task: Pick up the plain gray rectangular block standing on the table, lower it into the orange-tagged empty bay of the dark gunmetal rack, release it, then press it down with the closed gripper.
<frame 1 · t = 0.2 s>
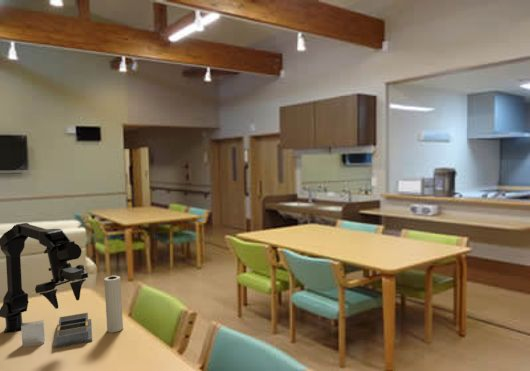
hand: (67, 304, 150), 15 cm above the table, fingers open, 9 cm apart
rack: (73, 333, 160), on the table
plain gray rectangular block: (33, 343, 153), on the table
paper towel roll: (116, 329, 164), on the table
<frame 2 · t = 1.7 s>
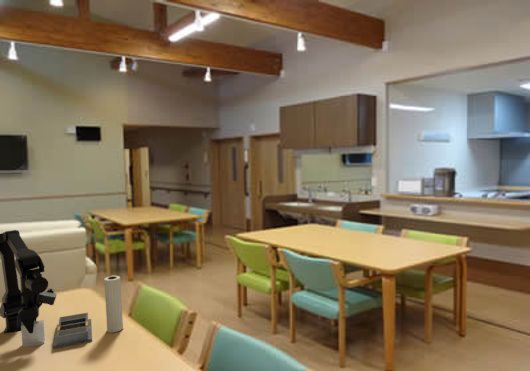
hand: (32, 328, 152), 6 cm above the table, fingers open, 9 cm apart
nothing on the table moved.
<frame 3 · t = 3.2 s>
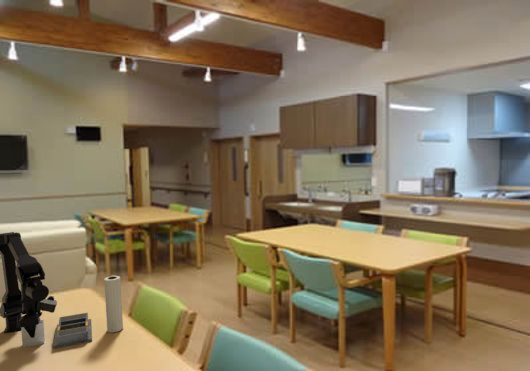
hand: (33, 335, 152), 3 cm above the table, fingers closed on plain gray rectangular block, 3 cm apart
plain gray rectangular block: (33, 343, 153), on the table, touching gripper
everything else where it was.
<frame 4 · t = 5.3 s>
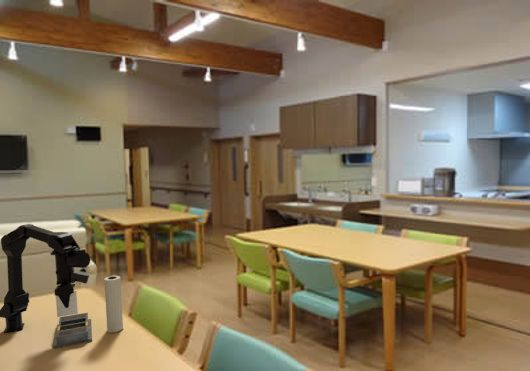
hand: (67, 306, 156), 12 cm above the table, fingers closed on plain gray rectangular block, 3 cm apart
plain gray rectangular block: (67, 314, 156), point 9 cm above the table, touching gripper
everything else where it was.
when the fingers open (6 cm above the table, at t = 7.4 s): plain gray rectangular block drops 2 cm, resting on rack.
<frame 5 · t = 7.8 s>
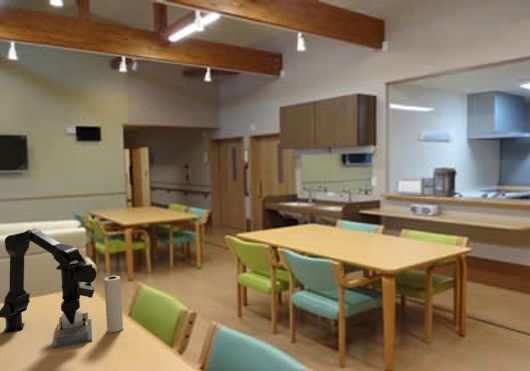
hand: (72, 320, 158), 6 cm above the table, fingers open, 8 cm apart
plain gray rectangular block: (73, 333, 158), point 1 cm above the table, touching rack
everything else where it was.
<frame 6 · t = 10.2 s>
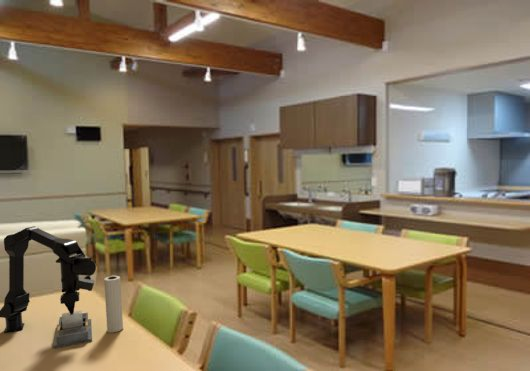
hand: (72, 313, 157), 9 cm above the table, fingers closed, pressing on plain gray rectangular block
plain gray rectangular block: (73, 333, 158), point 1 cm above the table, touching gripper, rack
everything else where it was.
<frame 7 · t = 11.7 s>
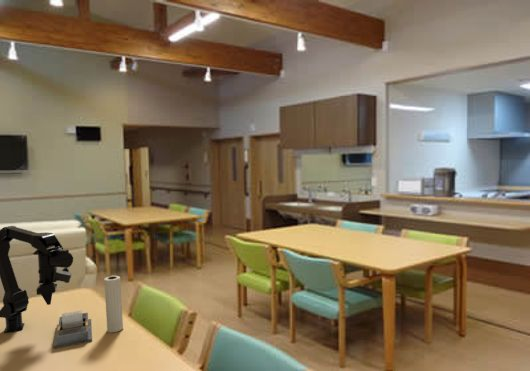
hand: (49, 304, 160), 12 cm above the table, fingers closed
plain gray rectangular block: (73, 333, 158), point 1 cm above the table, touching rack
everything else where it was.
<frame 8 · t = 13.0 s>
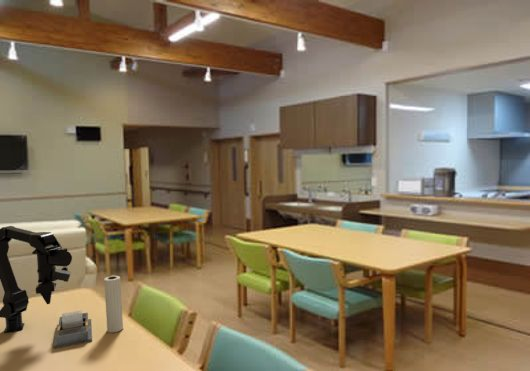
hand: (48, 303, 161), 12 cm above the table, fingers closed
nothing on the table moved.
at the end: plain gray rectangular block 0.1 cm from the target spot on the rack, point 1.2 cm above the rack's base; plain gray rectangular block tilted 0°; the gripper is holding nothing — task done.
